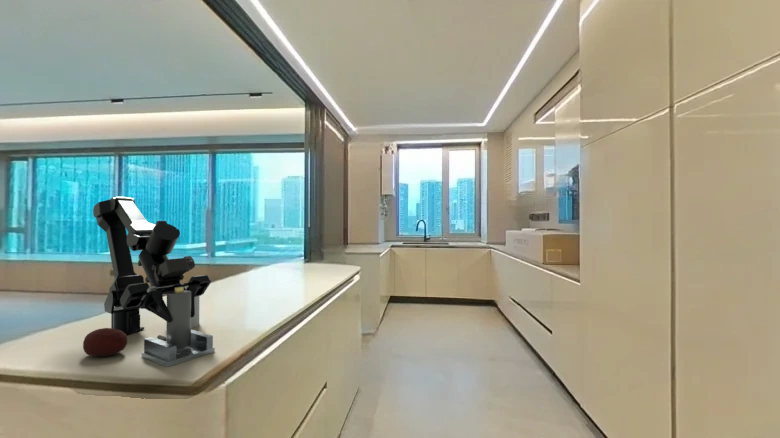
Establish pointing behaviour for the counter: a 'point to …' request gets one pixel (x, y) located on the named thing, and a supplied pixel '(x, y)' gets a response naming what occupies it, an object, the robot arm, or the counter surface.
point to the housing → (170, 355)
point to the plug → (178, 318)
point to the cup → (196, 317)
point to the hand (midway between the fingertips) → (182, 318)
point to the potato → (104, 342)
